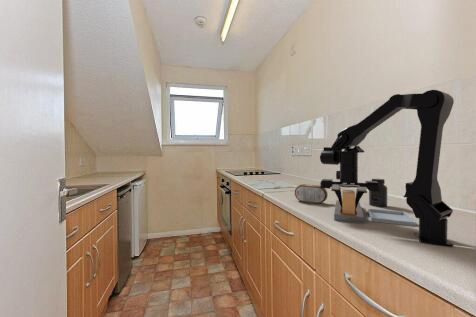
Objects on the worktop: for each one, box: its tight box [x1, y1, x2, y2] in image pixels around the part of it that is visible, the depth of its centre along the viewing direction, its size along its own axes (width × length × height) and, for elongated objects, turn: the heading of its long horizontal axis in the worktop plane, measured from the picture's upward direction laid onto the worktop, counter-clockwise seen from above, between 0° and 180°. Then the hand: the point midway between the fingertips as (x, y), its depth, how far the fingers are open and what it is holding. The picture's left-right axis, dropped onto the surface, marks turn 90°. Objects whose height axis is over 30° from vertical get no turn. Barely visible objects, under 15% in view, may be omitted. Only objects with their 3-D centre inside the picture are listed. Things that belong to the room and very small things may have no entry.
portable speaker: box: [294, 183, 328, 205], centre depth 105 cm, size 15×3×8 cm, turn 58°
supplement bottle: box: [368, 178, 388, 208], centre depth 96 cm, size 7×7×12 cm
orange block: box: [341, 189, 356, 214], centre depth 79 cm, size 6×4×8 cm, turn 154°
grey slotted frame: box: [333, 199, 365, 224], centre depth 85 cm, size 24×9×2 cm, turn 154°
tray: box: [367, 207, 417, 227], centre depth 78 cm, size 14×12×2 cm
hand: (348, 208), depth 79 cm, fingers closed on orange block, 4 cm apart
